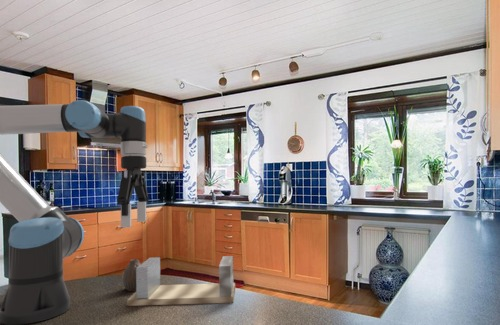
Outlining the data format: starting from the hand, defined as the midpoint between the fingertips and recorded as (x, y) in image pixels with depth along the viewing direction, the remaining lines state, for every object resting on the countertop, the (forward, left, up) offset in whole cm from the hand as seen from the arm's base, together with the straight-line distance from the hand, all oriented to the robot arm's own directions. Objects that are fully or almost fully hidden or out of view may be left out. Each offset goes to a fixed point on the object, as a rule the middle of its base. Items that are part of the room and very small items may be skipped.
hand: (134, 224), depth 102 cm
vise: (+17, -8, -20) cm, 27 cm away
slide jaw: (+7, -8, -18) cm, 21 cm away
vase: (0, 0, -20) cm, 20 cm away
